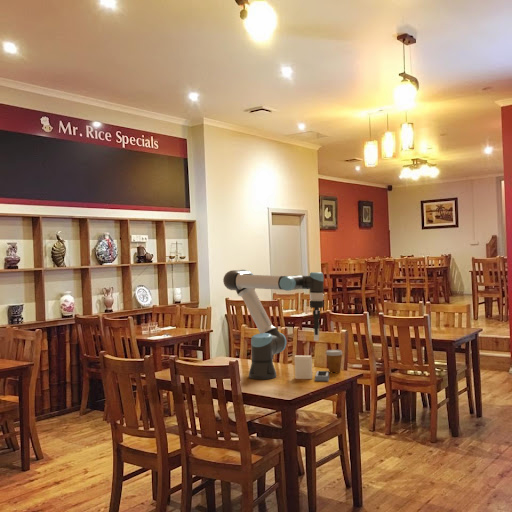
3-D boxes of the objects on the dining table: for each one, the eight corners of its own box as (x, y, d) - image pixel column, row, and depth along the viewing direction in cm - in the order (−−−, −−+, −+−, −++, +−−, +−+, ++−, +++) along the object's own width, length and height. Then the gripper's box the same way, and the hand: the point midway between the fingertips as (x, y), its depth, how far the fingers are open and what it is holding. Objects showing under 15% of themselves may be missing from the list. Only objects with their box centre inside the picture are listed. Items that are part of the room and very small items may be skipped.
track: (314, 381, 289) (314, 376, 289) (316, 375, 303) (316, 370, 303) (328, 381, 288) (328, 376, 288) (329, 375, 302) (329, 370, 302)
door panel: (295, 378, 296) (294, 356, 297) (295, 377, 300) (295, 355, 300) (311, 379, 295) (311, 356, 295) (312, 377, 298) (311, 355, 298)
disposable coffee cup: (342, 370, 317) (342, 349, 317) (343, 373, 307) (342, 352, 307) (325, 370, 318) (325, 349, 318) (326, 373, 308) (325, 352, 308)
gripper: (323, 302, 289) (323, 342, 289) (323, 298, 313) (323, 335, 313) (309, 302, 290) (309, 342, 290) (310, 298, 314) (310, 335, 314)
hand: (316, 339), depth 301 cm, fingers open, 13 cm apart
